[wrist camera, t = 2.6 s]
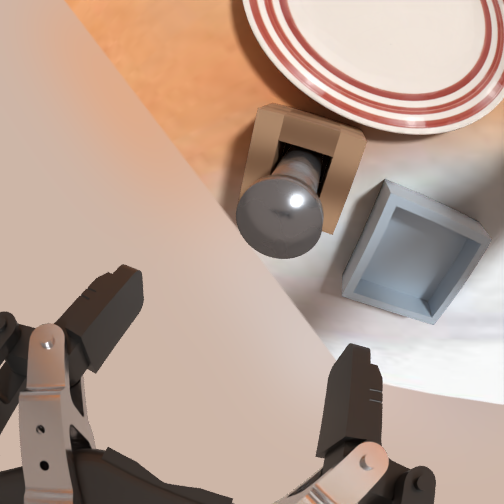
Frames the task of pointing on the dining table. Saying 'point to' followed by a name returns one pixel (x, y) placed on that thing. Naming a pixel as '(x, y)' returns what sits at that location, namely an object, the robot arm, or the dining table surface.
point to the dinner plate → (389, 58)
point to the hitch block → (311, 137)
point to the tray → (413, 255)
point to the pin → (284, 207)
